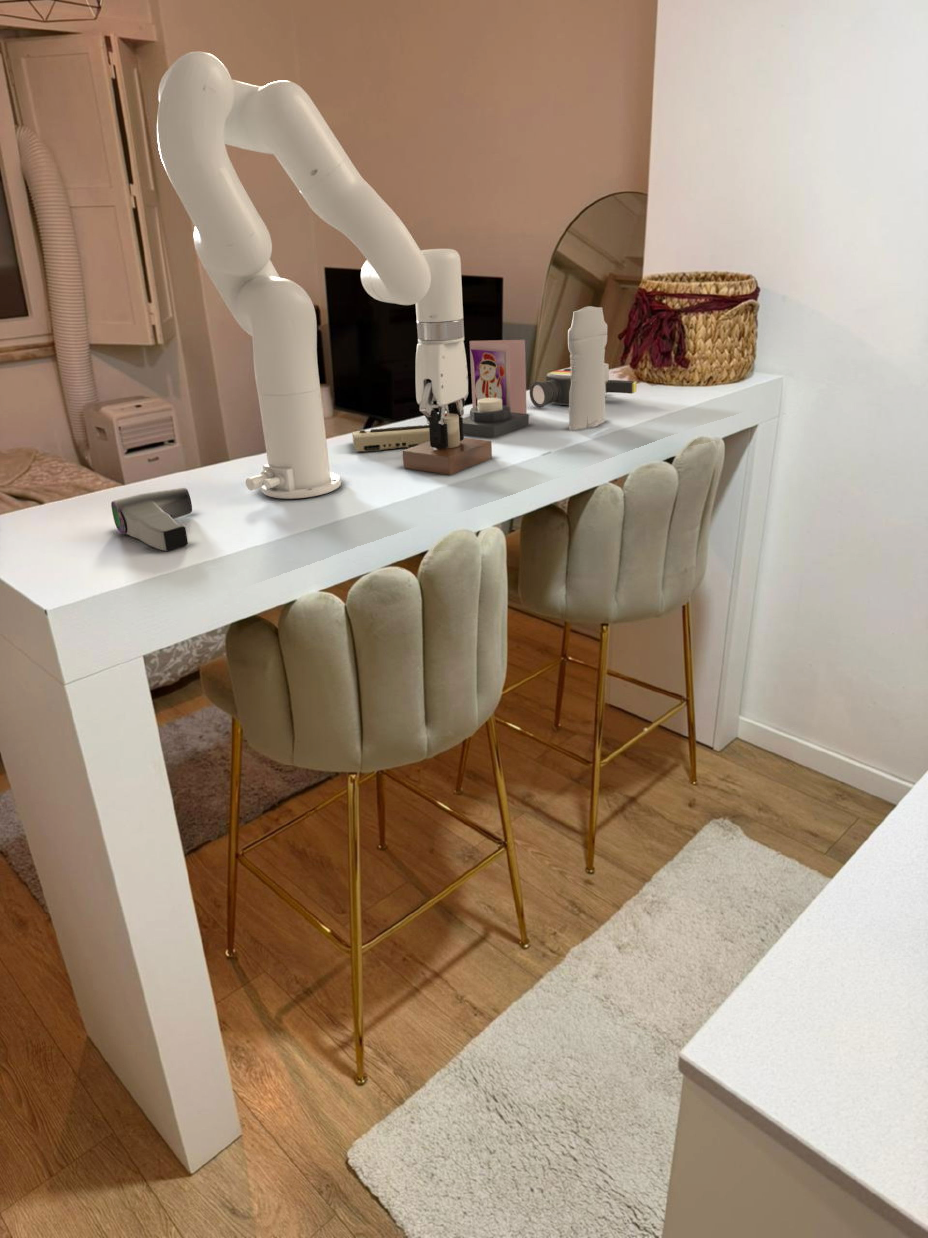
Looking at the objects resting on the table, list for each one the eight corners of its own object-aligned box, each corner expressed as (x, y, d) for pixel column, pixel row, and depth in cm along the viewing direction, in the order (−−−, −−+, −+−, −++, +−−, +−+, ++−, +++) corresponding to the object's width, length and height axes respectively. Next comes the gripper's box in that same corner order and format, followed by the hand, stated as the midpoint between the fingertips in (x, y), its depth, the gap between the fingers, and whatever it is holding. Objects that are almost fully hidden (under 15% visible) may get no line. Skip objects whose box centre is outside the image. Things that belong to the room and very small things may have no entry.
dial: (463, 446, 149) (461, 415, 147) (438, 449, 148) (436, 418, 146) (456, 441, 153) (454, 410, 151) (431, 444, 152) (429, 413, 150)
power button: (493, 414, 169) (492, 403, 168) (472, 411, 172) (472, 401, 171) (507, 409, 172) (506, 398, 172) (487, 407, 175) (486, 396, 174)
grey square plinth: (494, 438, 167) (493, 417, 165) (452, 433, 172) (450, 412, 170) (528, 425, 175) (528, 404, 173) (487, 420, 181) (486, 400, 179)
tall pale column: (576, 431, 168) (577, 309, 159) (560, 429, 171) (560, 308, 162) (613, 421, 174) (615, 303, 165) (597, 419, 177) (598, 302, 168)
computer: (434, 436, 170) (433, 418, 169) (440, 445, 163) (439, 428, 162) (353, 443, 169) (351, 426, 167) (355, 453, 161) (353, 435, 160)
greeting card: (469, 415, 186) (466, 341, 180) (495, 409, 190) (492, 336, 184) (508, 422, 178) (506, 345, 172) (533, 415, 183) (532, 340, 176)
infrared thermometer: (159, 560, 117) (109, 530, 127) (239, 535, 125) (186, 509, 134) (154, 528, 115) (102, 499, 125) (235, 505, 123) (181, 480, 132)
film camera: (574, 420, 181) (528, 408, 192) (642, 400, 190) (594, 390, 201) (574, 386, 178) (526, 375, 189) (642, 367, 187) (594, 359, 198)
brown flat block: (450, 475, 145) (449, 457, 144) (403, 467, 151) (402, 450, 149) (492, 458, 153) (491, 440, 152) (446, 451, 159) (445, 435, 158)
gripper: (446, 324, 151) (452, 431, 159) (392, 338, 138) (401, 453, 146) (485, 325, 148) (489, 433, 155) (433, 339, 135) (441, 457, 142)
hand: (447, 442), depth 151 cm, fingers closed on dial, 4 cm apart
